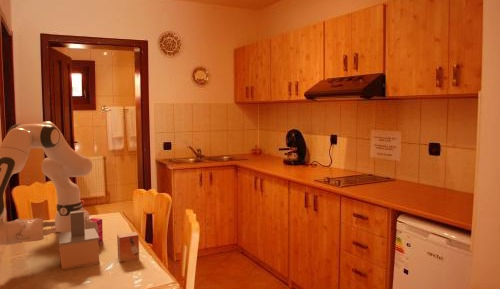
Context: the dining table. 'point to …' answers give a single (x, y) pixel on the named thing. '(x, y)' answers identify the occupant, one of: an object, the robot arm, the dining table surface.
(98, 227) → the supplement box
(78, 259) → the large tan box
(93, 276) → the dining table surface
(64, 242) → the grey plate with knob
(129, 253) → the small box
